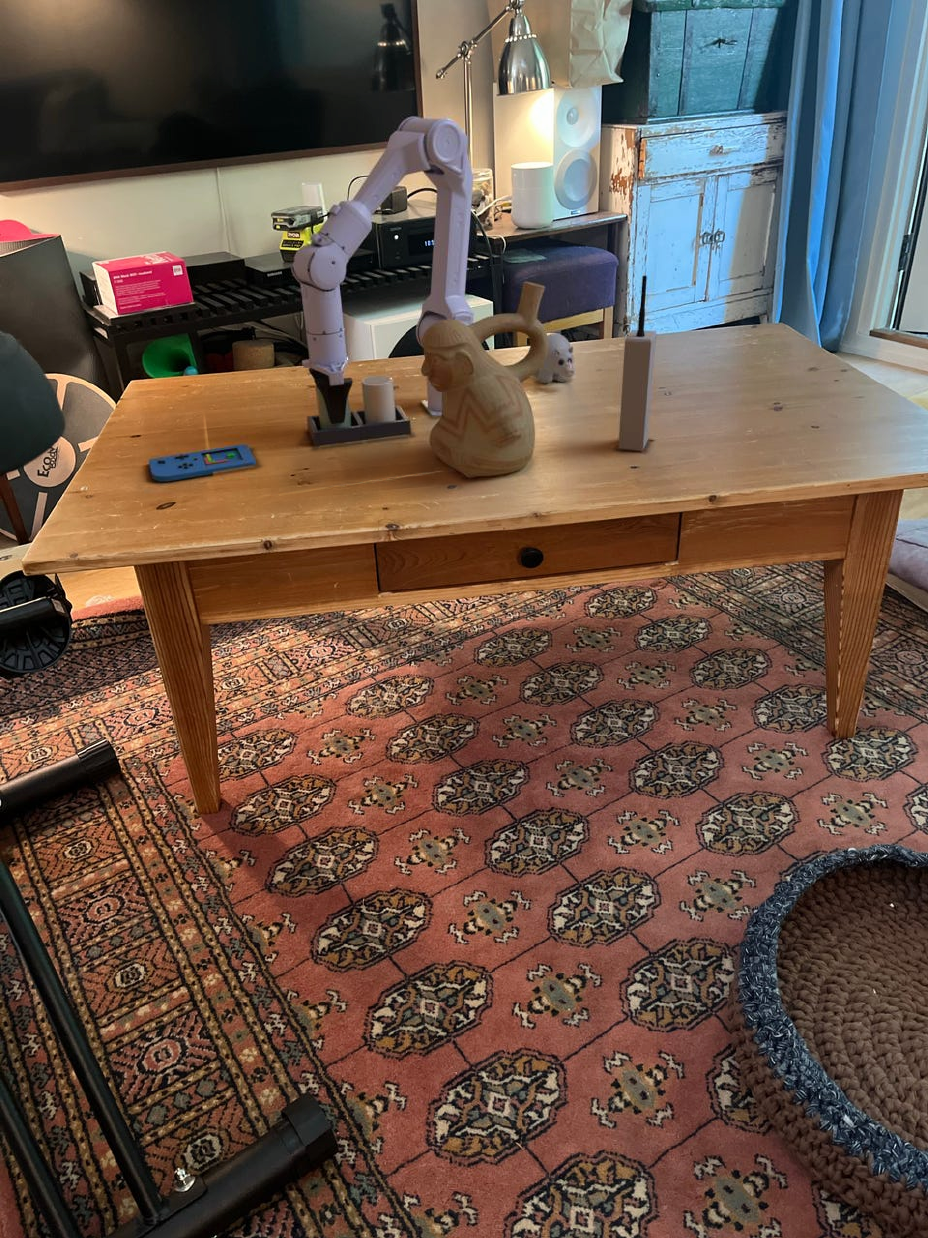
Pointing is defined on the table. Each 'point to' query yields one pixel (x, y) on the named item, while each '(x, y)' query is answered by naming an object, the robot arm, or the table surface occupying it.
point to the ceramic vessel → (484, 390)
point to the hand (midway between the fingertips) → (334, 416)
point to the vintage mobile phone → (637, 383)
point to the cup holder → (358, 429)
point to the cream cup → (378, 399)
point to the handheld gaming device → (201, 463)
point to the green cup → (324, 417)
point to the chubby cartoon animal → (557, 360)
